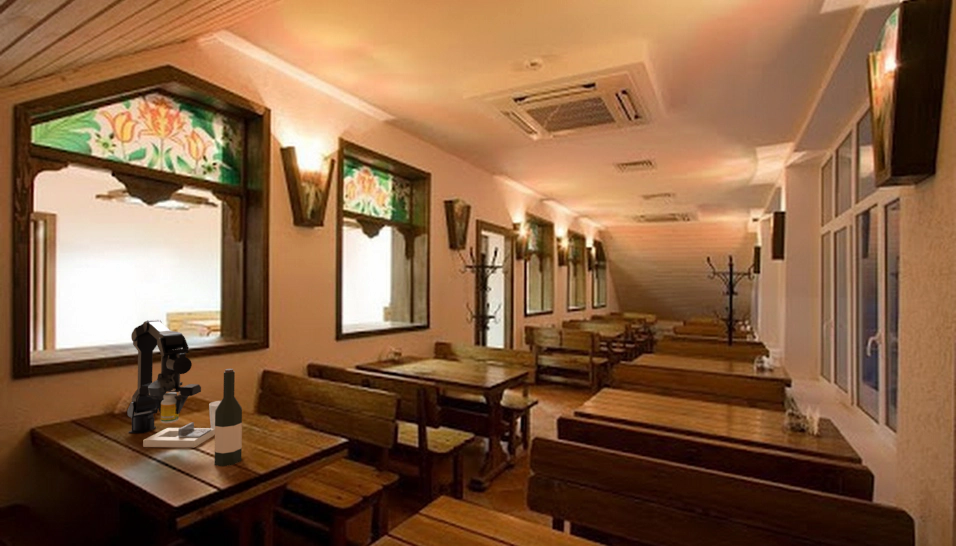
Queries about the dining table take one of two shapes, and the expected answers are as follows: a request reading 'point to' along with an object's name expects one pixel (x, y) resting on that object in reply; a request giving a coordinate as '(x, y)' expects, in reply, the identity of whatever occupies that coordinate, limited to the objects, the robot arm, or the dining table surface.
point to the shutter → (191, 431)
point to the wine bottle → (228, 425)
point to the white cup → (213, 412)
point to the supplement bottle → (169, 408)
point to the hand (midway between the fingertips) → (169, 413)
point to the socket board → (175, 439)
